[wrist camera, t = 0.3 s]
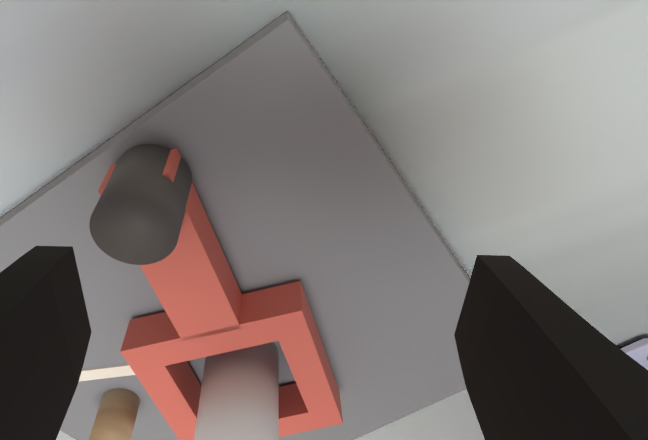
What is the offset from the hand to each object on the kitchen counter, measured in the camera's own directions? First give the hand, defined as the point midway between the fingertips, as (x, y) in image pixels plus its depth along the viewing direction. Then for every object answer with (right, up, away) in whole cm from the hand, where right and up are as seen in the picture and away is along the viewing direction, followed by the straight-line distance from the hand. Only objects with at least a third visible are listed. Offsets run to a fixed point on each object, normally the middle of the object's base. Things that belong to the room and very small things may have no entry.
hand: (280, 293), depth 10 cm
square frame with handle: (-3, -2, +11) cm, 11 cm away
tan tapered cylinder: (-8, -7, +14) cm, 17 cm away
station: (-3, -4, +14) cm, 14 cm away
